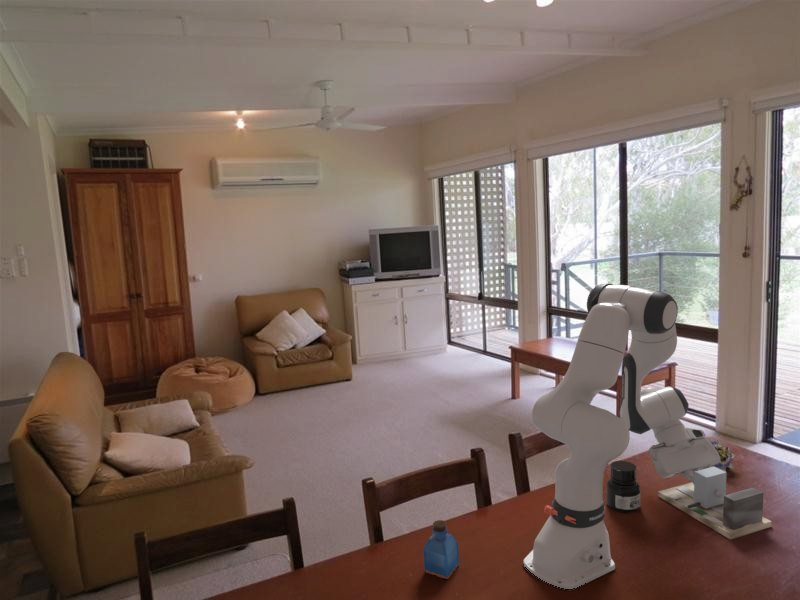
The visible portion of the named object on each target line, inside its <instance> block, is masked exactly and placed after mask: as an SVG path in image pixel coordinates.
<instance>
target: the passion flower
mask: <svg viewBox="0 0 800 600" xmlns="http://www.w3.org/2000/svg"><path fill="white" fill-rule="evenodd" d="M706 439H708V440H709V441H710V442H711V443H712V445H713V446H714V448H715V449H716V451H717V452H718V454H719V456H720V462H719V463H717V464H716V465H714V466H710V467H716V468H718V469H721V470H723V471H725V472H727V471H726V470H727V468H728V469H730V470H733V469H734V468H733V459H734V458H735V456H736V455H735V454H734V453H732V452H731V451H730V447H728V446H725V445H724V444H723V443H721V439H719V440H717V441H716V440H714V441H713V440H712V439H711V438H710V437H706ZM710 467H706V468H710Z"/></svg>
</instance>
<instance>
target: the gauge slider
mask: <svg viewBox="0 0 800 600" xmlns="http://www.w3.org/2000/svg"><path fill="white" fill-rule="evenodd" d="M693 475H694V502H695V503H694V504H691V505H688V508H692V507H695V506H699V505H700V506H702V507H704V508H706V509H707V508H710V507H714V506H717V505H720V504H724V495H727V471H726V472H725V471H723V470H721V469H718V468H716V467H710V468H707V467H706V468H702V470H698V471H695V473H693Z"/></svg>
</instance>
